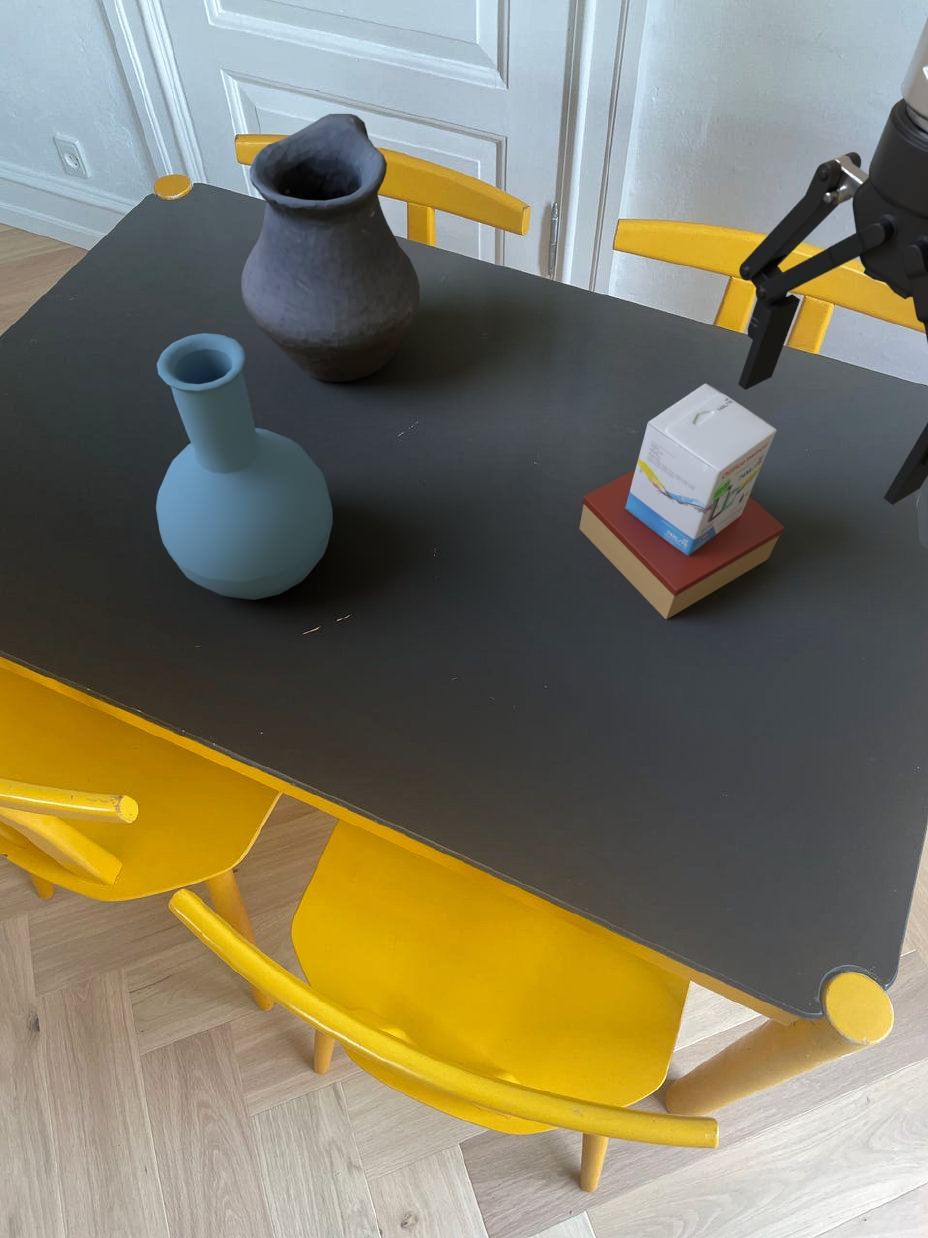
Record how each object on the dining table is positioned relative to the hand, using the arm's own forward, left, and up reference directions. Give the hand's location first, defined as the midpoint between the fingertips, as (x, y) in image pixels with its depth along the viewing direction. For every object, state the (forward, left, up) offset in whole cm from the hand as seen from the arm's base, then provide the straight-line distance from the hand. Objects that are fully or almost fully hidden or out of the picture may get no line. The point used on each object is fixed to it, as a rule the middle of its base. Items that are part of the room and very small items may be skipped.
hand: (824, 434), depth 60 cm
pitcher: (+58, +10, -28) cm, 65 cm away
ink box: (+12, -4, -23) cm, 26 cm away
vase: (+34, +33, -28) cm, 55 cm away
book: (+12, -4, -28) cm, 31 cm away
